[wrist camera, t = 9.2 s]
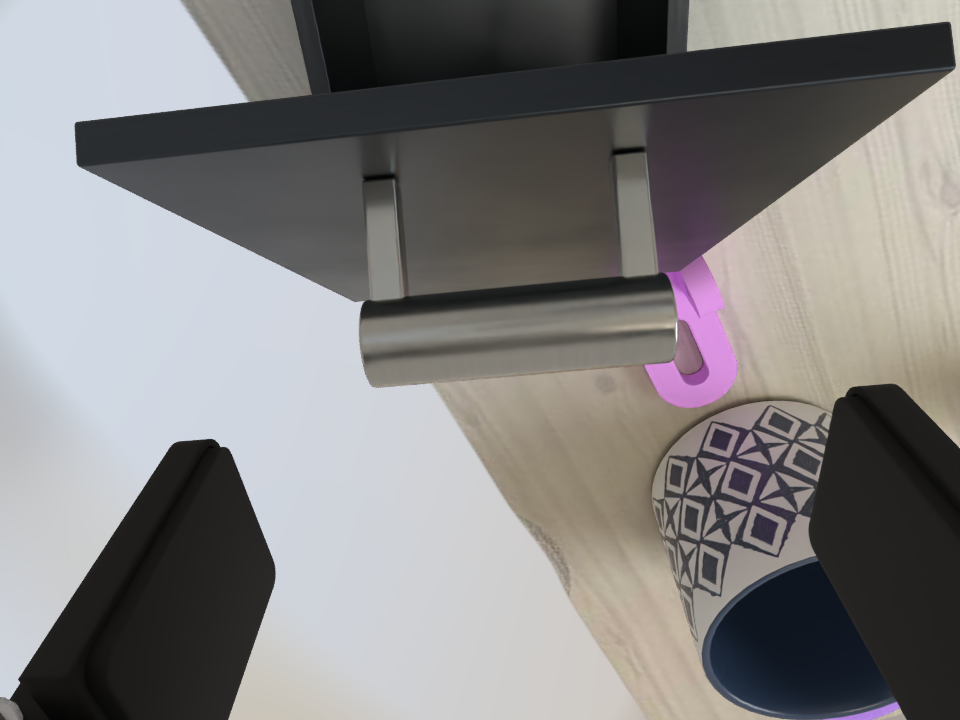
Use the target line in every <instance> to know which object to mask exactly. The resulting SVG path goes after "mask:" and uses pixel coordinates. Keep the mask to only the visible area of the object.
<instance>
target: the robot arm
mask: <svg viewBox="0 0 960 720" xmlns="http://www.w3.org/2000/svg"><path fill="white" fill-rule="evenodd" d="M808 532H809V539H810V543H811V547H812V549H813V551H814V553H815V555H816V557H817V558H818V560H819V562H820V564H821V566H822V567H823V569H824V571H825V573H826V575H827V576H828V578H829V580H830V582H831V584H832V586H833V587H834V589H835V591H836V593H837V595H838V596H839V598H840V600H841V602H842V604H843V605H844V607H845V609H846V611H847V613H848V614H849V616H850V618H851V620H852V622H853V624H854V625H855V627H856V629H857V631H858V633H859V634H860V636H861V638H862V640H863V642H864V643H865V645H866V647H867V649H868V651H869V652H870V654H871V656H872V658H873V660H874V661H875V663H876V665H877V667H878V669H879V671H880V672H881V674H882V676H883V678H884V680H885V681H886V683H887V685H888V687H889V689H890V690H891V692H892V694H893V696H894V698H895V699H896V701H897V703H898V705H899V707H900V708H901V710H902V712H903V714H904V716H905V717H906V719H907V720H960V448H959V447H958V446H957V445H956V444H955V443H954V442H953V441H952V440H951V439H950V438H949V437H948V436H947V435H946V434H945V433H944V432H943V431H942V430H941V429H940V427H939V426H938V425H937V424H936V423H935V422H934V421H933V420H932V419H931V418H930V417H929V416H928V415H927V414H926V413H925V412H924V411H923V410H922V409H921V408H920V407H919V406H918V405H917V404H916V403H915V402H914V401H913V400H912V399H911V398H910V397H909V396H908V395H907V393H906V392H905V391H904V390H903V389H902V388H900V387H899V386H898V385H895V384H882V385H869V386H857V387H852V388H850V389H849V390H848V392H847V394H846V396H845V397H841V398H839V399H837V401H836V402H835V405H834V409H833V413H832V418H831V423H830V427H829V432H828V437H827V442H826V446H825V451H824V456H823V460H822V465H821V470H820V474H819V479H818V484H817V489H816V493H815V498H814V503H813V507H812V512H811V517H810V522H809V528H808ZM274 583H275V565H274V561H273V558H272V556H271V553H270V551H269V548H268V546H267V543H266V540H265V538H264V535H263V533H262V530H261V528H260V525H259V523H258V520H257V518H256V515H255V512H254V510H253V507H252V505H251V502H250V500H249V497H248V495H247V492H246V489H245V487H244V484H243V482H242V480H241V477H240V474H239V472H238V469H237V467H236V464H235V462H234V459H233V457H232V454H231V452H230V451H229V449H228V448H226V447H220V446H219V444H218V443H217V442H216V441H215V440H213V439H206V440H193V441H180V442H176V443H174V444H173V445H172V446H171V447H170V448H169V450H168V452H167V453H166V455H165V456H164V458H163V459H162V461H161V462H160V464H159V465H158V467H157V468H156V470H155V471H154V473H153V474H152V476H151V477H150V479H149V480H148V482H147V484H146V485H145V487H144V488H143V490H142V491H141V493H140V494H139V496H138V497H137V499H136V500H135V502H134V503H133V505H132V506H131V508H130V510H129V511H128V513H127V514H126V516H125V517H124V519H123V520H122V522H121V523H120V525H119V526H118V528H117V529H116V531H115V532H114V534H113V535H112V537H111V538H110V540H109V541H108V543H107V545H106V546H105V548H104V549H103V551H102V552H101V554H100V555H99V557H98V558H97V560H96V561H95V563H94V564H93V566H92V568H91V569H90V571H89V572H88V574H87V575H86V577H85V578H84V580H83V581H82V583H81V584H80V586H79V588H78V589H77V590H76V592H75V593H74V595H73V597H72V598H71V600H70V601H69V603H68V604H67V606H66V607H65V609H64V610H63V612H62V613H61V615H60V616H59V618H58V619H57V621H56V622H55V624H54V626H53V627H52V629H51V630H50V632H49V633H48V635H47V636H46V638H45V639H44V641H43V642H42V644H41V645H40V647H39V648H38V650H37V651H36V653H35V654H34V656H33V658H32V659H31V661H30V662H29V664H28V665H27V667H26V668H25V670H24V671H23V673H22V674H21V676H20V677H19V679H18V680H19V681H20V685H19V686H18V688H17V689H16V691H15V692H14V694H13V696H12V697H11V698H10V700H8V699H6V698H3V697H0V720H228V718H229V715H230V712H231V710H232V706H233V704H234V701H235V698H236V695H237V692H238V689H239V686H240V683H241V680H242V677H243V675H244V672H245V669H246V665H247V663H248V660H249V657H250V654H251V651H252V648H253V645H254V643H255V640H256V637H257V634H258V631H259V628H260V625H261V622H262V619H263V616H264V613H265V610H266V608H267V604H268V602H269V599H270V596H271V593H272V590H273V587H274Z"/></svg>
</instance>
